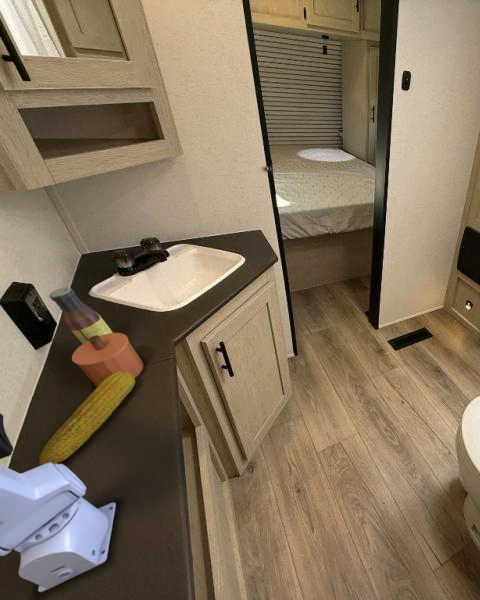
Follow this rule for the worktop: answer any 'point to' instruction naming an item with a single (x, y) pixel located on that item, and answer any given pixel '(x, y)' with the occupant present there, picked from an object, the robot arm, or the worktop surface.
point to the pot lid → (100, 349)
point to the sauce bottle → (79, 315)
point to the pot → (115, 366)
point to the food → (87, 417)
